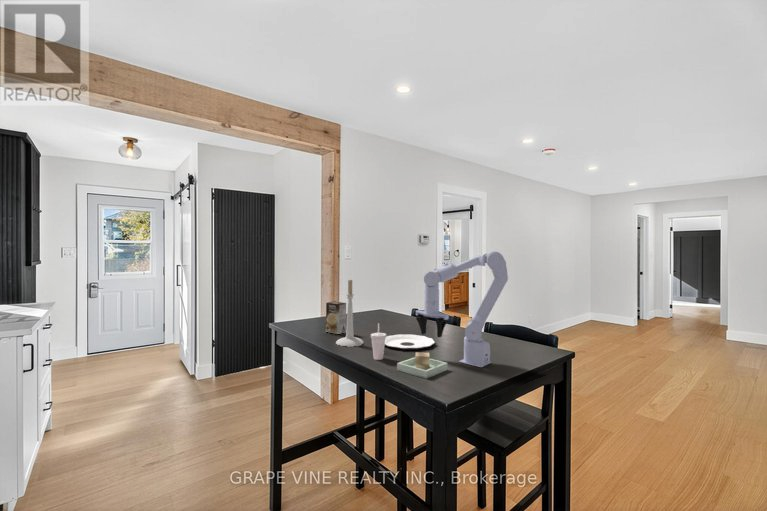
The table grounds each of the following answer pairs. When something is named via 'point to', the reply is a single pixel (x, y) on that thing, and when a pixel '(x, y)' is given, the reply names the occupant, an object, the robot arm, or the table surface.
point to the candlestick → (349, 324)
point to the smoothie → (378, 344)
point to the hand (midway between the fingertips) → (431, 335)
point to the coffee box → (336, 317)
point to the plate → (416, 339)
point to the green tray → (434, 369)
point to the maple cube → (422, 360)
